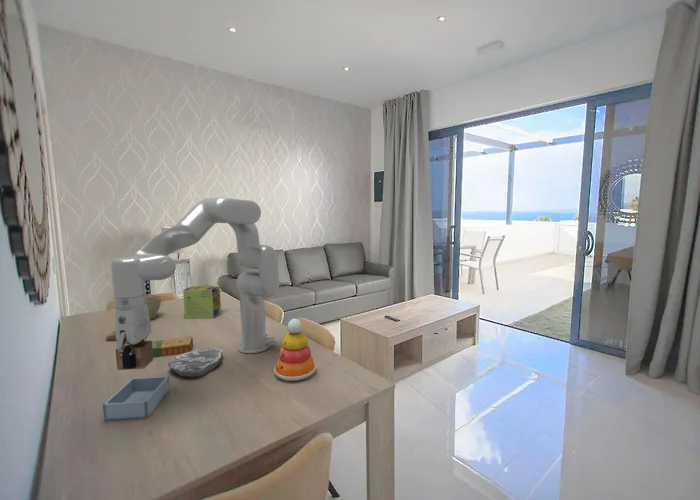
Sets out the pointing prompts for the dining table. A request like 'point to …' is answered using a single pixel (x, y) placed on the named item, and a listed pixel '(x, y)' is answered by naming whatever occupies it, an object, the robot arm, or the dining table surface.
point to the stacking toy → (294, 355)
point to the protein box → (202, 302)
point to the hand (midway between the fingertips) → (135, 362)
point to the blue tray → (136, 398)
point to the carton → (172, 346)
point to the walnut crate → (138, 355)
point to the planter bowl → (153, 304)
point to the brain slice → (196, 362)
